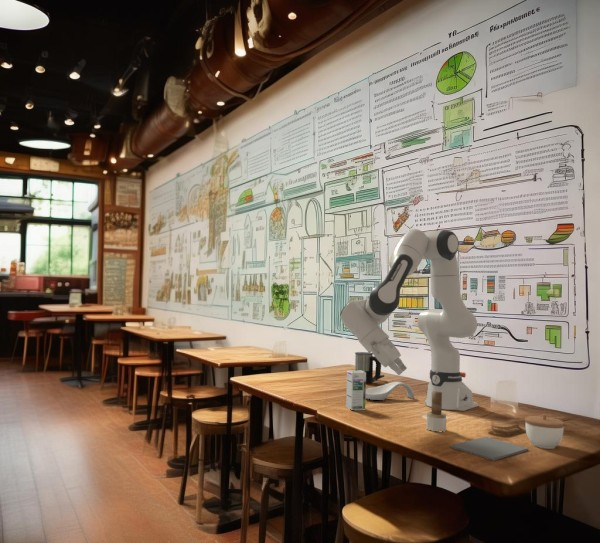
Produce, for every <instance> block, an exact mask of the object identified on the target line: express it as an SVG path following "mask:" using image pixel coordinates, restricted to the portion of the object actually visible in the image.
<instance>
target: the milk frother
mask: <svg viewBox="0 0 600 543" xmlns="http://www.w3.org/2000/svg"><path fill="white" fill-rule="evenodd" d="M354 354H355V357H354V358H355V361H354V363H355V364H354V371H357V370H361V371H364V372H366V385H367V384H373V381H378V380H380V379H382V378H384V377H385V375H384V374H381V372H382V371H381V370H382V364H381V363H380V362H379V361H378V360H377V358H376V357H375V356H374V355H373V353H372V352H370V353H369V352H368V351H366V352H365V351H364V352H363V351H357V352H354ZM374 362H375V372H374V373H373V370H374ZM373 374H374V375H373Z"/></svg>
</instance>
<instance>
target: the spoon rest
mask: <svg viewBox="0 0 600 543" xmlns="http://www.w3.org/2000/svg"><path fill="white" fill-rule="evenodd" d="M400 386H402V387H404V388H405V389H406V394H407V395H406V396H407V398H409V399H411V398H412V399H413V400H414V399H415V393H414V390H413V388H412V387H411V386H410V385H409V384H408V383H405V382H401V381H393V382H392V381H391V382H389V383H386V384H382V385H379V386H375V387H368V388H367V387H366V395H365V399H367V400H369V399H370V400H369V401H373V400H383V401H384V400H386V399H387V397H389V396H390V394H391V393H393V391H394V390H395V389H396V388H397V387H400ZM412 399H411V400H412Z"/></svg>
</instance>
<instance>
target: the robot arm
mask: <svg viewBox="0 0 600 543" xmlns="http://www.w3.org/2000/svg"><path fill="white" fill-rule="evenodd" d="M459 246H460V244H459V239H458V236H457V235H456V234H455V233H454V231H451V230H446V229H445V230H444V229H443V230H429V231H422V230H419V229H418V228H417V229H416V228H411V229H409V230H408V231H406V232H405V233H404V234H403V235H402V237H401V238H400V239H399V240H398V242H397V243H396V245H395V246H394V248H393V250H392V252H391V255H390V257H389V260H388V266H389V268H390V270H389V271H388V272H387V275H386V277H385V278H384V280H383V281H382V282H381V283H378V285H376V286H374V287H373V289H372V290H371V292H370V293H369V296H368V297H367V298H365V299H364V298H363V299H360V300H358V299H357V300H354V299H351V300H349V301H348V302H347V303H346V304H344V306H343V308H342V310H340V313H339V318H340V320H341V322H342V323H343V325H344V326H345V327H346V328H347V329H348V331H349V332H350V333H351V334H352V335H353V336H354V337H356V338H357V340H358V342H359V343H360V344H361V346H362V347H363V348H364V349H365V350H366V352H369V353H373V356H375V357H376V358H377V360H378V361H379V362H380V363H381V366H383V367H384V368H387V367H389V368H390V369H391V370H392V371H394V372H395V373H396V375H398V376H400V375H402V373H403V372H405V371H406V370H407V368H408V367H407V366H406V365H405V364H404V362H403V361H402V359H401V358H400V357H401V356H402V354H401V352H400V351H399V349H398V348H397V347H396V346H395V344H394V343H393V342H392V341H391V340H390V339H389V338H390V336H389V335H388V333H386V331H384V329H383V328H381V326H380V324H383V323H384V322H386V321H387V320H388V318H390V316H391V315H392V313H393V312H395V310H396V309H397V308H398V306H399V305H400V300H401V299H400V298H401V297H400V296H401V290H402V289H401V288H402V287H403V285H404V283H405V281H406V279H407V277H409V276H412V275H413V274H414V273H415V271H416V270H417V269H418V267H419V266H420V264H421V262H422V260H430V269H429V271H430V274H429V275H430V293H431V295H432V296H431V297H433V298H434V299H435V300H437V301H438V302H439V304H440V306H441V307H442V308H431V309H430V308H429V309H426V310H422V311H421V312H420V313H419V315H418V317H417V326H418V329H419V330H420V331H421V332H422V333H423V335H424V336H425V338H426V339H427V341H428V345H429V348H430V357H431V358H430V359H431V364H430V365H431V369H430V370H429V379H430V381H429V382H428V386H427V393H426V399H425V400H424V403H425V405H426V406H428V407H431V408H432V391H438V392H442V410H450V411H461V412H462V411H463V412H465V411H468V410H471V409H473V408H476V407H479V403H478V402H475V401H473V393H472V392H473V391H472V390H471V389H470V388H469V386H467V385H466V384H465V383H464V382H463V378H464V379H465V378H466V372H465V371H464V372H463V371H461V370H460V368H461V367H460V366H461V364H460V362H461V361H460V360H461V354H460V352H459V350H458V348H456V347H455V346H454V345H453V344H452V342H451V339H450V338H457V339H463V338H469V337H473V336H474V334H475V333H476V331H477V329H478V321H477V318H476V316H475V314H474V313H472V311H470V310H469V309H468V308H467V306H466V305H465V303H464V301H463V298H462V295H461V290H460V289H461V288H460V275H459V265H458V260H457V253H458V250H459Z"/></svg>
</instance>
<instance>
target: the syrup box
mask: <svg viewBox="0 0 600 543" xmlns="http://www.w3.org/2000/svg"><path fill="white" fill-rule="evenodd" d="M366 386H367V384H366V372H364V371H361V370H357V371H355V370H347V371H346V395H345V397H346V399H345V401H346V402H345V408H346V407H347V408H346V409H348V408H349V409H351V410H354V411H364V410H363V409H365V410H366V397H365V395H366V389H367V387H366ZM349 409H348V410H349ZM351 410H350V411H351Z"/></svg>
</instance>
